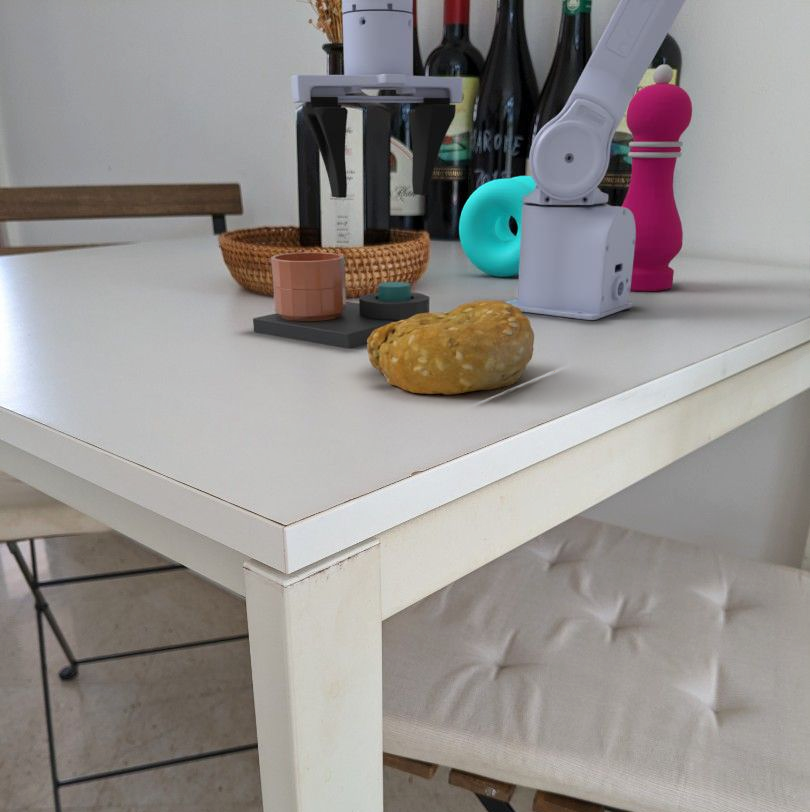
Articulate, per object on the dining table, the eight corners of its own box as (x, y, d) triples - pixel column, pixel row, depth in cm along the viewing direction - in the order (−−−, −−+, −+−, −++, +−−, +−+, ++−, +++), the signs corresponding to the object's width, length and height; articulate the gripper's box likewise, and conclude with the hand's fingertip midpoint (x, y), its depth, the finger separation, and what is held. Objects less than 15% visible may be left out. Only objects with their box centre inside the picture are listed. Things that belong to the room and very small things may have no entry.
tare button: (417, 300, 69) (417, 283, 68) (397, 305, 67) (397, 287, 66) (391, 297, 70) (391, 280, 70) (371, 302, 68) (371, 284, 68)
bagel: (428, 352, 62) (428, 284, 60) (561, 377, 55) (567, 301, 53) (332, 380, 55) (329, 304, 53) (473, 412, 48) (475, 327, 46)
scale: (441, 327, 70) (442, 295, 69) (357, 351, 62) (356, 316, 61) (342, 312, 76) (341, 283, 75) (253, 333, 68) (251, 301, 67)
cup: (352, 309, 71) (350, 252, 69) (336, 323, 66) (333, 262, 64) (287, 308, 71) (283, 251, 69) (266, 321, 66) (261, 260, 64)
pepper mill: (685, 284, 89) (714, 64, 80) (664, 294, 83) (692, 60, 75) (618, 279, 92) (639, 68, 84) (593, 288, 87) (613, 63, 78)
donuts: (565, 268, 100) (571, 176, 95) (541, 281, 91) (547, 180, 87) (484, 264, 103) (487, 174, 99) (454, 275, 95) (456, 178, 91)
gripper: (304, 5, 64) (313, 201, 69) (480, 13, 68) (475, 195, 74) (280, 16, 69) (291, 196, 75) (444, 22, 74) (442, 191, 80)
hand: (380, 195), depth 75 cm, fingers open, 7 cm apart
